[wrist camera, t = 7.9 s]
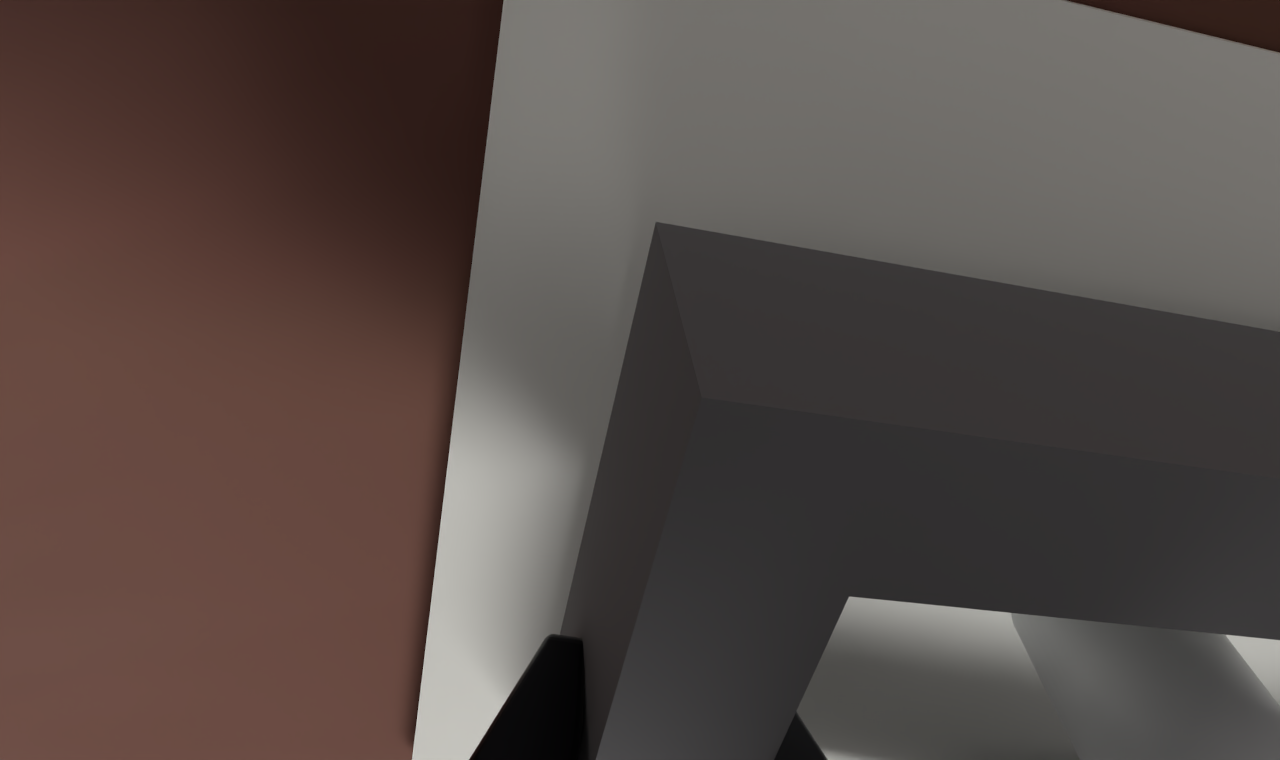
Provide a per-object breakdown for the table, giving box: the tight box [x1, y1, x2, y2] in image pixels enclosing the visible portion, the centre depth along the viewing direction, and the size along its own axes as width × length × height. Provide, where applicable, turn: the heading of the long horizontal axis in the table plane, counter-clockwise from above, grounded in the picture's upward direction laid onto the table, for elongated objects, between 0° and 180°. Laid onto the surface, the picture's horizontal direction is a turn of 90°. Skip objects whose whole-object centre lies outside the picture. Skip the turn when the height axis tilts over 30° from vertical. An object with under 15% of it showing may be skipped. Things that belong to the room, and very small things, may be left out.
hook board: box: [412, 0, 1280, 760], centre depth 10 cm, size 18×14×6 cm
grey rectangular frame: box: [560, 222, 1280, 760], centre depth 10 cm, size 14×9×3 cm, turn 78°
